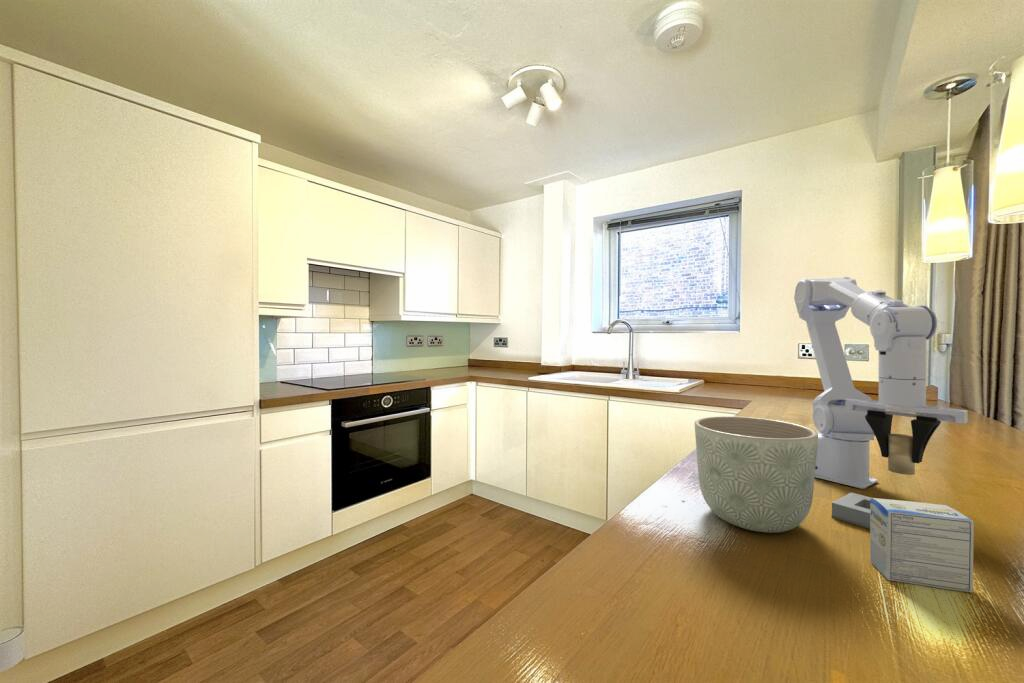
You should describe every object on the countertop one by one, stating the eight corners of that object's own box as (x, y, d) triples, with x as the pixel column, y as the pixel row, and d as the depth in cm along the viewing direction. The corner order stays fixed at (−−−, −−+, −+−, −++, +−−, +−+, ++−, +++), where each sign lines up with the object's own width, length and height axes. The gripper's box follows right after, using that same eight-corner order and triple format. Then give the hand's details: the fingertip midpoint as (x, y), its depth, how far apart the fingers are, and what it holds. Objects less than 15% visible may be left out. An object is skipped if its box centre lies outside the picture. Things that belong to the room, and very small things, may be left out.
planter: (697, 492, 76) (697, 412, 76) (807, 510, 68) (807, 421, 68) (690, 530, 61) (690, 431, 61) (830, 559, 53) (830, 444, 53)
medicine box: (947, 573, 50) (947, 504, 50) (974, 595, 45) (975, 519, 45) (868, 562, 52) (868, 496, 52) (888, 581, 48) (888, 510, 48)
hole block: (831, 517, 65) (831, 502, 65) (850, 506, 69) (851, 492, 69) (907, 540, 58) (907, 524, 58) (923, 526, 62) (923, 511, 62)
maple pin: (885, 470, 67) (885, 435, 67) (891, 467, 69) (891, 432, 69) (911, 476, 65) (911, 439, 65) (917, 472, 66) (917, 436, 66)
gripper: (838, 376, 71) (838, 452, 71) (959, 383, 59) (959, 475, 59) (854, 374, 75) (853, 446, 75) (970, 381, 62) (970, 467, 62)
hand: (901, 459), depth 67 cm, fingers closed on maple pin, 3 cm apart
